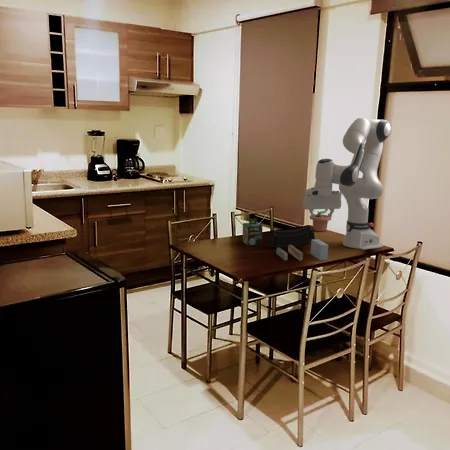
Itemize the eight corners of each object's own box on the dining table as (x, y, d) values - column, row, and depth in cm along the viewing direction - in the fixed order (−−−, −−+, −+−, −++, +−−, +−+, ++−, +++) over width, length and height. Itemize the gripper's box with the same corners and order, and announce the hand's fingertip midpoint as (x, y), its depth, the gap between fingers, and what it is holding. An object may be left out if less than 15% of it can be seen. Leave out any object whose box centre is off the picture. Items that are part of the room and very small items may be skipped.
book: (317, 253, 254) (318, 239, 252) (327, 259, 242) (328, 245, 241) (310, 253, 253) (311, 239, 251) (320, 260, 241) (321, 245, 240)
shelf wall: (290, 251, 255) (291, 244, 254) (302, 260, 240) (302, 253, 239) (288, 252, 255) (288, 244, 254) (299, 260, 240) (300, 253, 239)
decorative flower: (331, 228, 312) (334, 183, 305) (333, 233, 298) (336, 186, 292) (308, 227, 314) (311, 182, 307) (309, 232, 300) (312, 185, 294)
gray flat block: (279, 253, 251) (279, 247, 251) (287, 260, 240) (287, 253, 239) (276, 253, 251) (276, 247, 250) (284, 260, 240) (284, 253, 239)
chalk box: (256, 240, 277) (257, 216, 274) (262, 244, 268) (263, 219, 265) (241, 241, 274) (242, 217, 271) (247, 245, 266) (248, 220, 262)
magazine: (267, 234, 256) (310, 214, 267) (264, 232, 259) (307, 213, 270) (273, 261, 262) (315, 241, 273) (270, 260, 265) (312, 240, 276)
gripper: (338, 189, 245) (336, 215, 248) (302, 190, 240) (300, 216, 243) (344, 191, 239) (342, 218, 242) (307, 192, 234) (305, 219, 238)
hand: (321, 217), depth 243 cm, fingers open, 8 cm apart
